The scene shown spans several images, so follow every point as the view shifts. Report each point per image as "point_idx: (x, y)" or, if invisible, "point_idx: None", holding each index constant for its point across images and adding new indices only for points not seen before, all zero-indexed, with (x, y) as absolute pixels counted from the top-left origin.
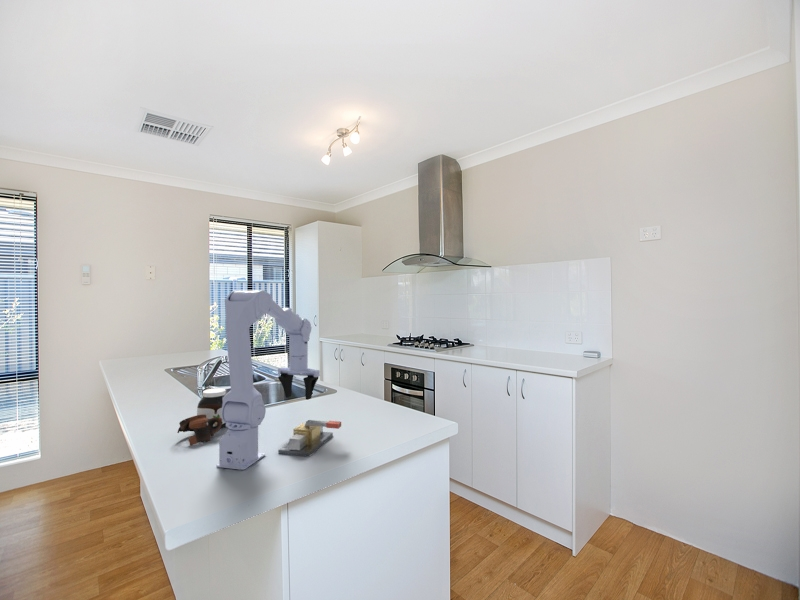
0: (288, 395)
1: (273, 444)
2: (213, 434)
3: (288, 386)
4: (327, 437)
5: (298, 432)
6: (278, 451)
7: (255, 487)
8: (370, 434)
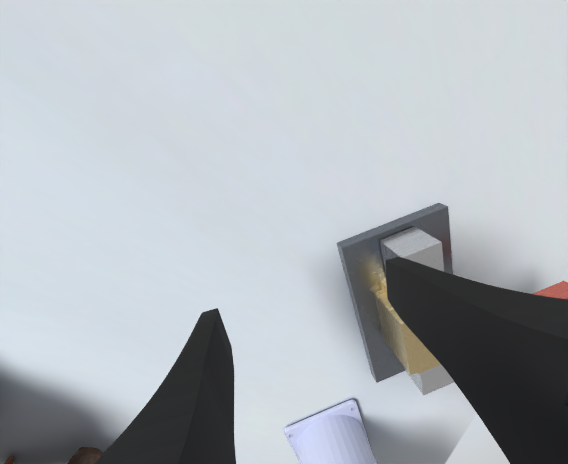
0: (228, 344)
1: (313, 354)
2: (100, 455)
3: (222, 410)
4: (449, 247)
5: (429, 367)
6: (374, 378)
7: (431, 449)
8: (560, 108)
